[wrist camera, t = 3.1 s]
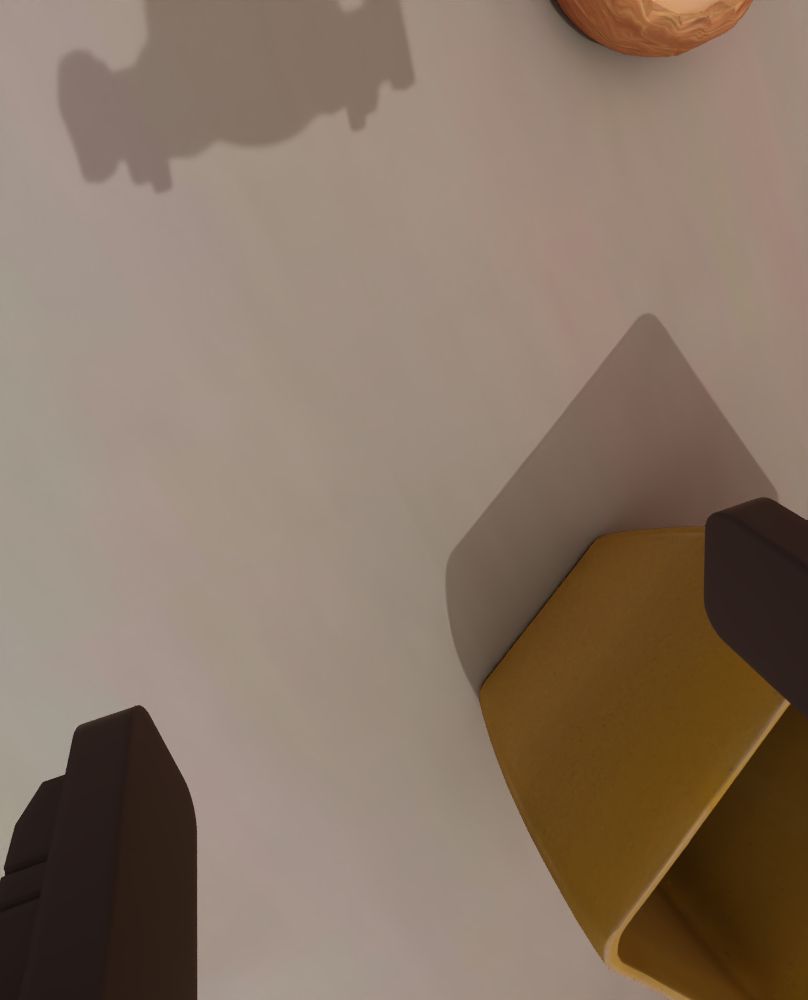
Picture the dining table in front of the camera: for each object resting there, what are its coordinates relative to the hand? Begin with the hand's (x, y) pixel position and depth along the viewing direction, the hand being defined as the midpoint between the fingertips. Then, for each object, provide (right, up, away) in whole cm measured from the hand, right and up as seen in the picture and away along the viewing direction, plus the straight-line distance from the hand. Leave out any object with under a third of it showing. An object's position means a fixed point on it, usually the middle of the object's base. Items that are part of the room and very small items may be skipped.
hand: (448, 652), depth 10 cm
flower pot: (+11, -8, +34) cm, 37 cm away
